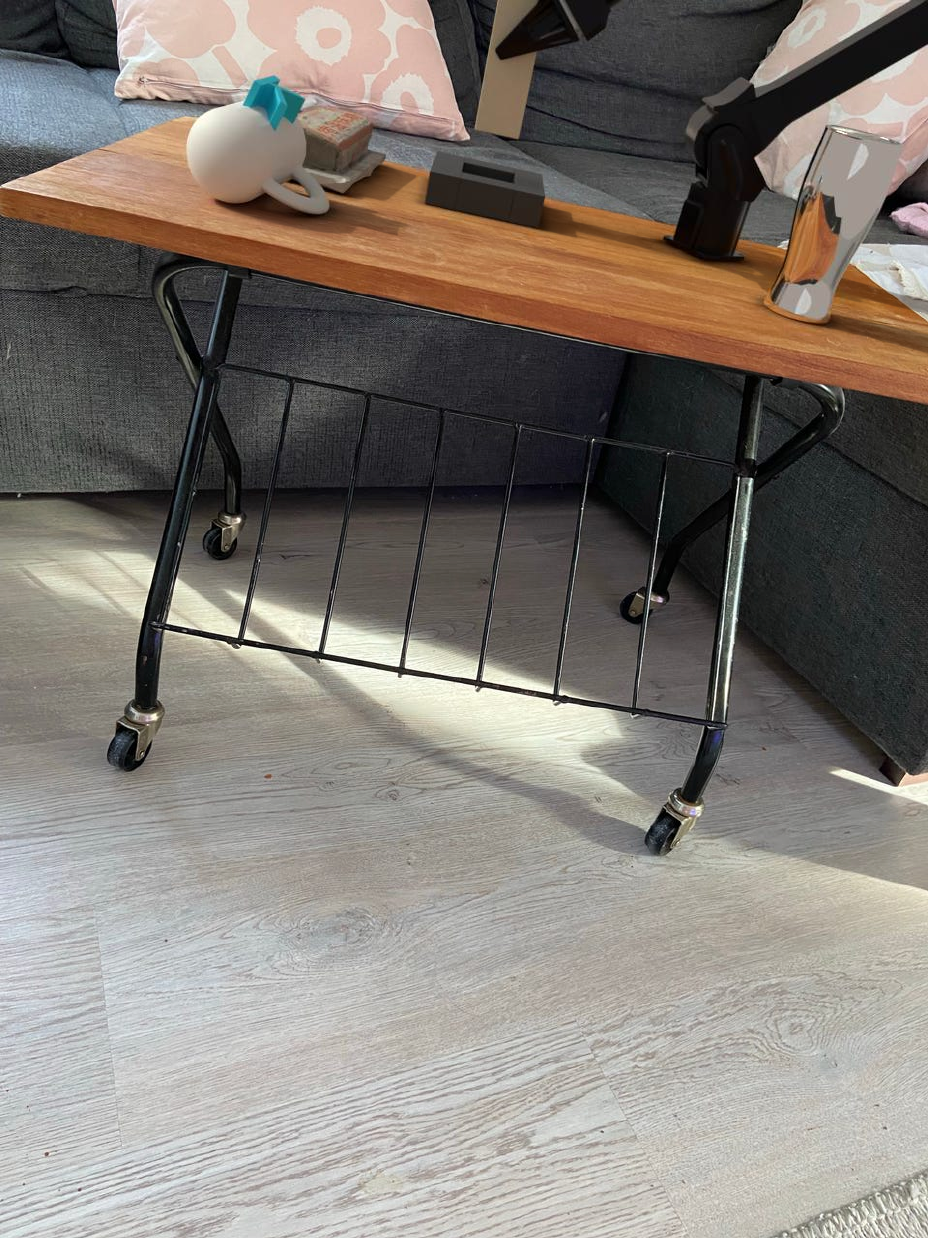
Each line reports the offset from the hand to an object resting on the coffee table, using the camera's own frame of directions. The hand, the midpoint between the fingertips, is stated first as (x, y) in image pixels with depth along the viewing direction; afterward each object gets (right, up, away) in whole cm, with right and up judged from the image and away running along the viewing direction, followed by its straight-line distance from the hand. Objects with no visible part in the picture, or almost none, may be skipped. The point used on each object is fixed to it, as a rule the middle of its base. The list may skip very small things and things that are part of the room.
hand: (497, 52), depth 94 cm
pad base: (-1, -11, +8) cm, 14 cm away
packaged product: (-18, -8, +6) cm, 21 cm away
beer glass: (+27, -26, -4) cm, 38 cm away
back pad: (0, -6, +4) cm, 7 cm away
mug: (-21, -18, -8) cm, 29 cm away
